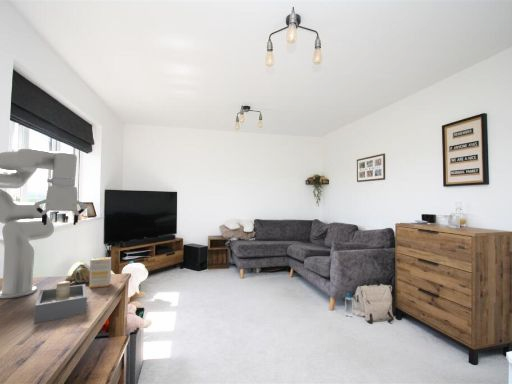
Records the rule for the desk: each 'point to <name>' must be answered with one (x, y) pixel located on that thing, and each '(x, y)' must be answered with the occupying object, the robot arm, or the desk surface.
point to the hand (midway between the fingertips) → (60, 224)
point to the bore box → (60, 304)
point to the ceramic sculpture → (80, 274)
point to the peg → (63, 290)
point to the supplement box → (100, 272)
